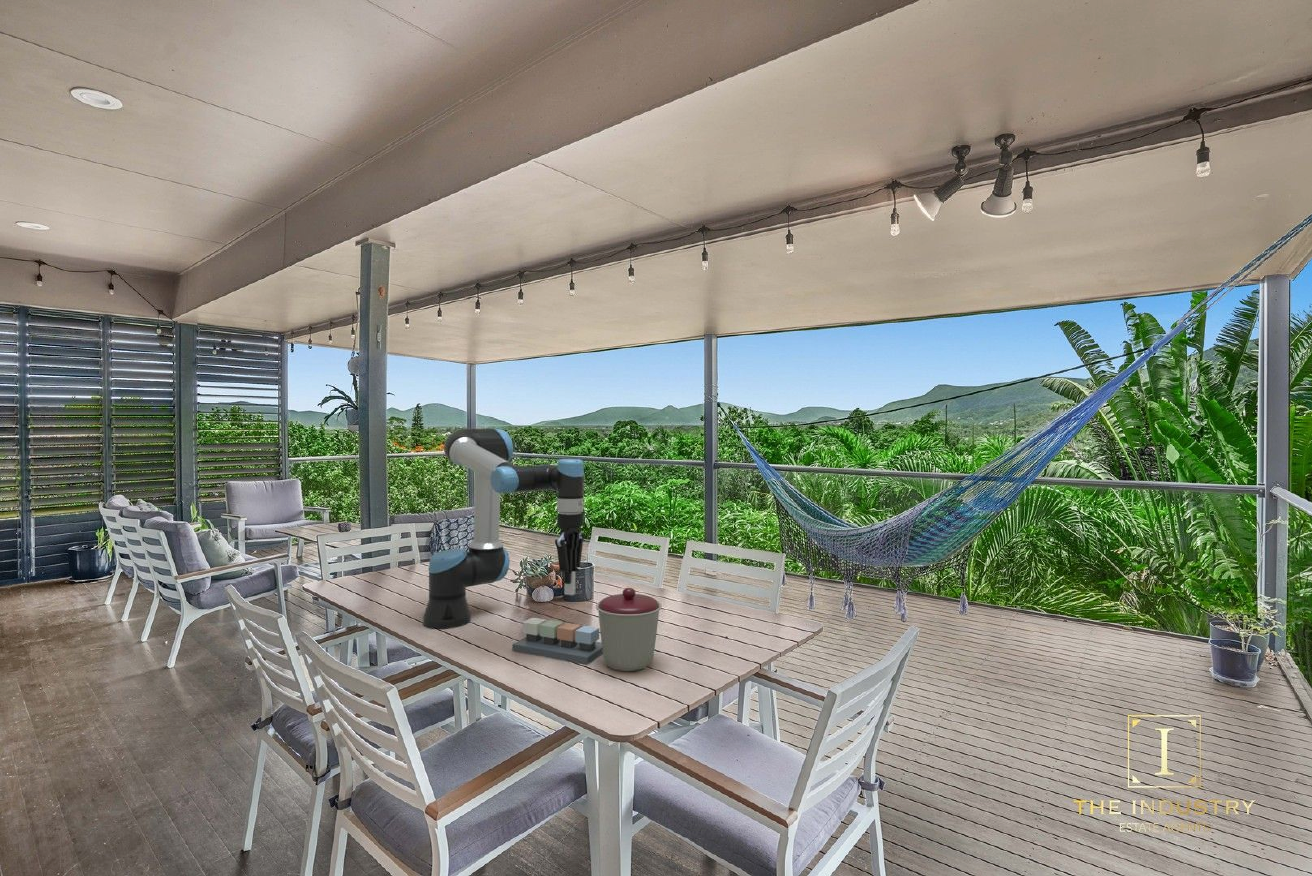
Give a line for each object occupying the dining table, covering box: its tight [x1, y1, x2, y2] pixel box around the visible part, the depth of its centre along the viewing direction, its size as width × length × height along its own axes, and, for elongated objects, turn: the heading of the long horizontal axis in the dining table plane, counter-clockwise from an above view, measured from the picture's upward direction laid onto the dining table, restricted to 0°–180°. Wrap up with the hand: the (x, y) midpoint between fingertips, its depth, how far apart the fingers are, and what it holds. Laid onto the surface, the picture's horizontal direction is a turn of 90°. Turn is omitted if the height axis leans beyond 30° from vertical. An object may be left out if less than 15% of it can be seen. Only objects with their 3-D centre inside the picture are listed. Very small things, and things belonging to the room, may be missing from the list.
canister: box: [595, 587, 663, 672], centre depth 164 cm, size 18×18×21 cm
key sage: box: [540, 620, 565, 638], centre depth 175 cm, size 5×5×3 cm
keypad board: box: [511, 634, 603, 665], centre depth 174 cm, size 25×12×4 cm, turn 67°
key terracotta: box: [557, 622, 582, 641], centre depth 173 cm, size 5×5×3 cm
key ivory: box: [522, 617, 547, 635], centre depth 177 cm, size 5×5×3 cm
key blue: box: [575, 625, 600, 645], centre depth 170 cm, size 5×5×3 cm
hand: (569, 594), depth 173 cm, fingers closed
